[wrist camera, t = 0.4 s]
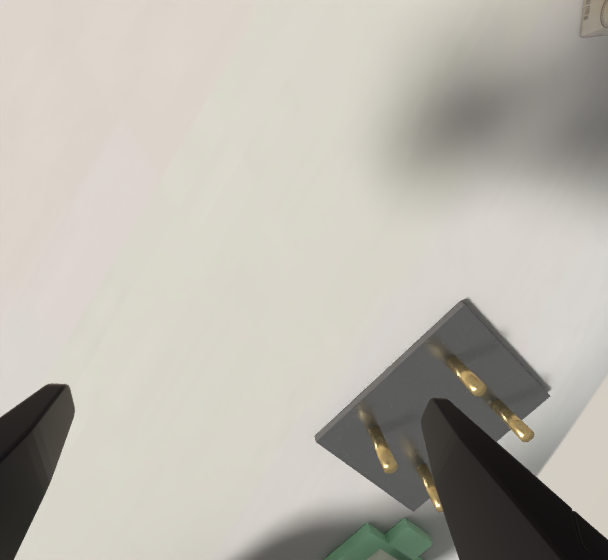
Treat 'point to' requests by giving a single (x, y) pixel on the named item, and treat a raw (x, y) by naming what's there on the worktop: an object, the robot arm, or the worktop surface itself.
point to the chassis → (415, 395)
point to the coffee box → (594, 18)
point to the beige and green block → (384, 544)
